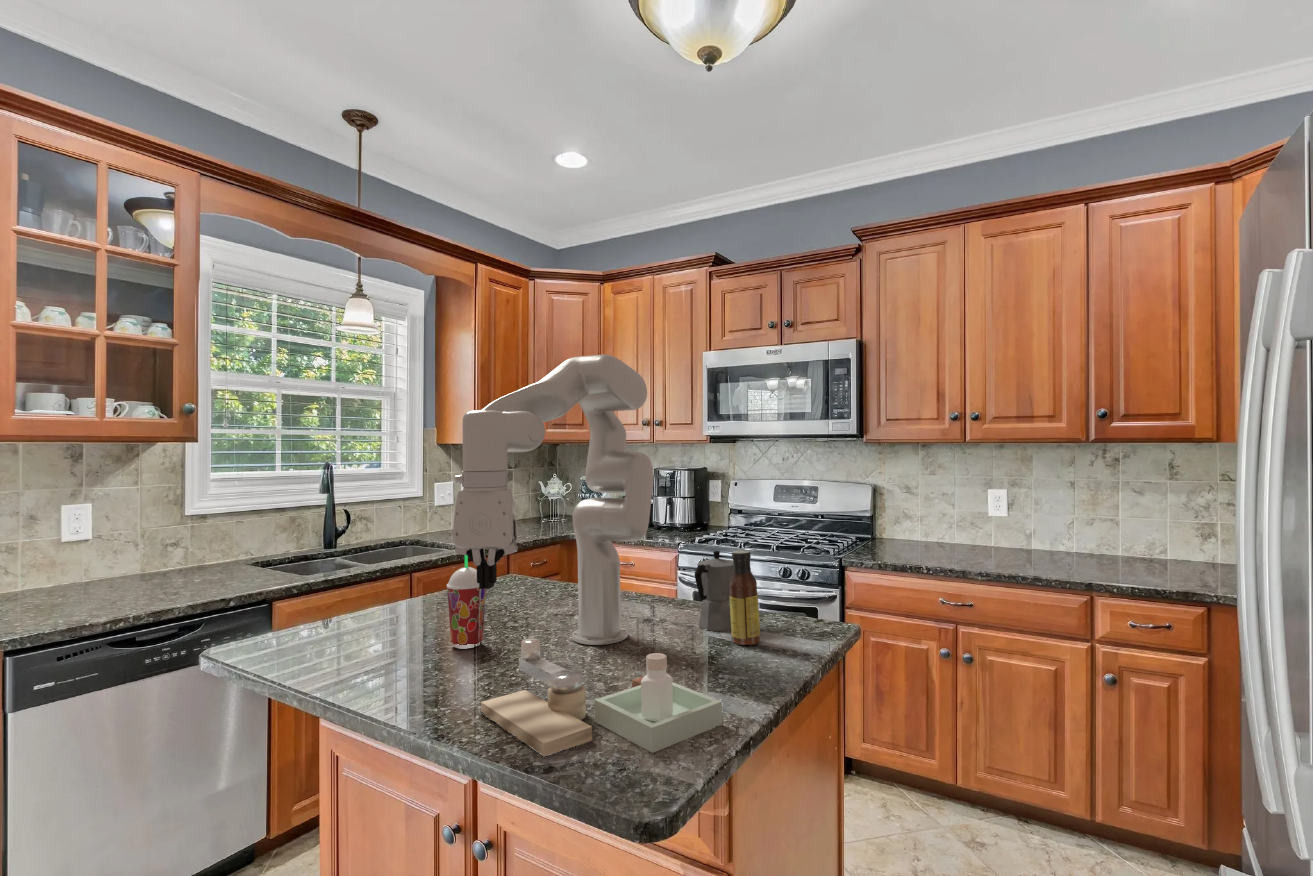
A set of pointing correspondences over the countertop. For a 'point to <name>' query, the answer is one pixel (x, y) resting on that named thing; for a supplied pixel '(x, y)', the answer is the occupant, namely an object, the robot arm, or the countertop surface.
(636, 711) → the tray
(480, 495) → the robot arm
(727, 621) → the coffeepot
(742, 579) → the sauce bottle
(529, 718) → the base
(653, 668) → the salt shaker
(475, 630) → the smoothie
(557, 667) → the crank arm
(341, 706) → the countertop surface
